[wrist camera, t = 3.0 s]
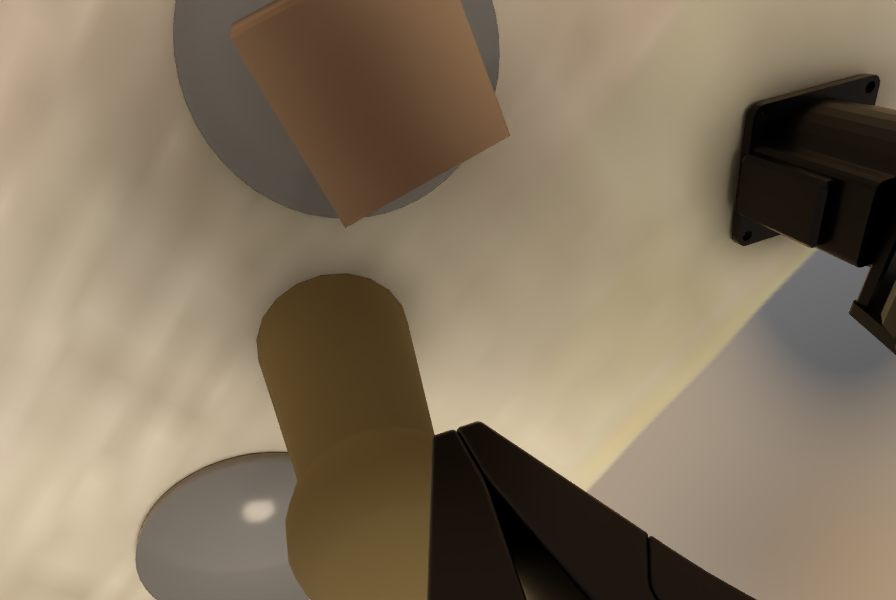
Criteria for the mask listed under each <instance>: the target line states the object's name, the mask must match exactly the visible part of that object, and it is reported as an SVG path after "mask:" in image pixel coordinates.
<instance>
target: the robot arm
mask: <svg viewBox="0 0 896 600" xmlns="http://www.w3.org/2000/svg"><path fill="white" fill-rule="evenodd" d="M879 85H880V79H879V77H878V76H877V75H872V74H862V75H858V76H855V77H851V78H847V79H843V80H840V81H836V82H832V83H828V84H825V85H821V86H817V87H813V88H810V89H806V90H802V91H798V92H795V93H791V94H787V95H783V96H780V97H776V98H772V99H769V100H765V101H761V102H758V103H756V104H754V105H753V106H752V107H751V108H750V109H749V111H748V112H747V116H746V123H745V131H744V139H743V148H742V156H741V165H740V173H739V181H738V190H737V198H736V207H735V215H734V223H733V232H732V239H733V241H734V242H736V243H738V244H740V245H742V246H746V245H749V244H752V243H755V242H758V241H762V240H765V239H768V238H771V237H774V236H777V235H780V234H782V235H784V236H786V237H788V238H790V239H792V240H794V241H797V242H799V243H801V244H803V245H805V246H807V247H810V248H814V247H815V248H817V249H820V250H822V251H824V252H826V253H828V254H830V255H833V256H835V257H837V258H839V259H841V260H843V261H846V262H848V263H850V264H852V265H854V266H856V267H864V266H868V267H870V269H869V272H868V274H867V277H866V279H865V281H864V284H863V286H862V289H861V291H860V294H859V296H858V298H857V300H854V301H853V304H852V306H851V308H850V311H849V314H850V315H851V316H852V317H853V318H854V319H856V320H857V321H858V322H859V323H860V324H861V325H862V326H864V327H865V328H866V329H867V330H868V331H869V332H870V333H872V334H873V335H874V336H875V337H876V338H877V339H878V340H880V341H881V342H882V343H883V344H884V345H885V346H886V347H887V348H889V349H890V350H891V351H892V352H893V353H894V354H895V355H896V110H894V109H889V108H884V107H879V106H875V102H876V98H877V93H878V89H879ZM760 113H761V116H760V117H759V114H760ZM758 117H759V119H758ZM427 600H756V599H754V598H752V597H751V596H749V595H747V594H745V593H743V592H742V591H740V590H738V589H736V588H735V587H733V586H731V585H729V584H727V583H726V582H724V581H722V580H721V579H719V578H717V577H715V576H714V575H712V574H710V573H708V572H706V571H705V570H703V569H702V568H700V567H699V566H697V565H696V564H694V563H692V562H691V561H689V560H688V559H686V558H685V557H683V556H681V555H680V554H678V553H677V552H675V551H673V550H672V549H671V548H669V547H668V546H666V545H665V544H663V543H662V542H660V541H659V540H657V539H656V538H654V537H652V536H650V537H648V534H647V533H646V532H645V531H643V530H642V529H640V528H639V527H637V526H636V525H634V524H633V523H631V522H630V521H628V520H627V519H626V518H624V517H622V516H621V515H620V514H618V513H617V512H615V511H614V510H612V509H611V508H609V507H608V506H606V505H604V504H603V503H602V502H600V501H599V500H597V499H596V498H594V497H593V496H591V495H590V494H588V493H587V492H585V491H584V490H582V489H581V488H579V487H578V486H576V485H575V484H573V483H572V482H570V481H569V480H567V479H566V478H564V477H563V476H561V475H560V474H558V473H557V472H555V471H554V470H552V469H551V468H549V467H548V466H546V465H545V464H543V463H542V462H540V461H539V460H537V459H536V458H534V457H533V456H531V455H530V454H528V453H527V452H525V451H524V450H522V449H521V448H520V447H518V446H517V445H515V444H514V443H512V442H511V441H509V440H508V439H506V438H505V437H503V436H502V435H500V434H499V433H497V432H496V431H494V430H493V429H491V428H490V427H488V426H487V425H485V424H484V423H482V422H478V421H477V422H474V423H471V424H468V425H464V426H461V427H459V428H458V429H457V431H455V430H449V431H446V432H443V433H440V434H437V435H435V436H433V438H432V453H431V485H430V516H429V547H428V579H427Z"/></svg>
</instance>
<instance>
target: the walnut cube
mask: <svg viewBox="0 0 896 600" xmlns="http://www.w3.org/2000/svg"><path fill="white" fill-rule="evenodd" d="M230 39H231V41H232V43H233V44H234V46H235V48H236V49H237V51H238V53H239V54H240V56H241V57H242V59H243V61H244V62H245V64H246V66H247V67H248V69H249V71H250V72H251V74H252V75H253V77H254V79H255V80H256V82H257V84H258V85H259V87H260V89H261V90H262V92H263V94H264V95H265V97H266V98H267V100H268V102H269V103H270V105H271V107H272V108H273V110H274V112H275V113H276V115H277V117H278V118H279V120H280V121H281V123H282V125H283V126H284V128H285V130H286V131H287V133H288V135H289V136H290V138H291V140H292V141H293V143H294V144H295V146H296V148H297V149H298V151H299V153H300V154H301V156H302V158H303V159H304V161H305V162H306V164H307V166H308V167H309V169H310V171H311V172H312V174H313V176H314V177H315V179H316V181H317V182H318V184H319V185H320V187H321V189H322V190H323V192H324V194H325V195H326V197H327V199H328V200H329V202H330V204H331V205H332V207H333V208H334V210H335V212H336V213H337V215H338V217H339V218H340V220H341V222H342V223H343V225H344V227H345V228H346V227H348V226H349V225H351V224H353V223H355V222H356V221H358V220H360V219H362V218H364V217H365V216H367V215H369V214H371V213H373V212H374V211H376V210H378V209H380V208H381V207H383V206H385V205H387V204H389V203H390V202H392V201H394V200H396V199H398V198H399V197H401V196H403V195H405V194H406V193H408V192H410V191H412V190H414V189H415V188H417V187H419V186H421V185H423V184H424V183H426V182H428V181H430V180H431V179H433V178H435V177H437V176H439V175H440V174H442V173H444V172H446V171H448V170H449V169H451V168H453V167H455V166H456V165H458V164H460V163H462V162H464V161H465V160H467V159H469V158H471V157H473V156H474V155H476V154H478V153H480V152H481V151H483V150H485V149H487V148H489V147H490V146H492V145H494V144H496V143H498V142H499V141H501V140H503V139H505V138H506V137H508V136H510V134H509V131H508V128H507V126H506V123H505V120H504V117H503V115H502V112H501V109H500V107H499V104H498V101H497V98H496V96H495V93H494V90H493V88H492V85H491V82H490V80H489V77H488V74H487V71H486V69H485V66H484V63H483V61H482V58H481V55H480V52H479V50H478V47H477V44H476V42H475V39H474V36H473V34H472V31H471V28H470V25H469V23H468V20H467V17H466V15H465V12H464V9H463V6H462V4H461V1H460V0H275V1H273V2H271V3H269V4H267V5H266V6H264V7H262V8H260V9H258V10H256V11H254V12H253V13H251V14H249V15H247V16H245V17H243V18H241V19H239V20H238V21H236V22H234V23H232V24H231V36H230Z"/></svg>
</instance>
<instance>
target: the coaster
mask: <svg viewBox="0 0 896 600" xmlns="http://www.w3.org/2000/svg"><path fill="white" fill-rule="evenodd" d="M273 1H275V0H176V3H175V12H174V24H173V40H174V56H175V62H176V67H177V73H178V78H179V82H180V85H181V88H182V91H183V94H184V98H185V101H186V103H187V106H188V108H189V110H190V112H191V114H192V117H193V119H194V121H195V123H196V125H197V127H198V128H199V130H200V131H201V133H202V135H203V136H204V138H205V140H206V141H207V143H208V144H209V146H210V147H211V148H212V149H213V151H214V152H215V153H216V154H217V156H218V157H219V158H220V159H221V161H222V162H223V163H224V164H225V165H226V166H227V167H228V168H229V169H230V170H231V171H232V172H233V173H234V174H235V175H236V176H237V177H239V178H240V179H241V180H242V181H244V182H245V183H246V184H248V185H249V186H250V187H252V188H253V189H254V190H256V191H257V192H259V193H261V194H262V195H264V196H266V197H267V198H269V199H271V200H272V201H275V202H277V203H279V204H281V205H284V206H286V207H288V208H291V209H293V210H297V211H300V212H303V213H307V214H310V215H316V216H322V217H328V218H339V217H338V215H337V213H336V212H335V210H334V208H333V207H332V205H331V204H330V202H329V200H328V199H327V197H326V195H325V194H324V192H323V190H322V189H321V187H320V185H319V184H318V182H317V181H316V179H315V177H314V176H313V174H312V172H311V171H310V169H309V167H308V166H307V164H306V162H305V161H304V159H303V158H302V156H301V154H300V153H299V151H298V149H297V148H296V146H295V144H294V143H293V141H292V140H291V138H290V136H289V135H288V133H287V131H286V130H285V128H284V126H283V125H282V123H281V121H280V120H279V118H278V117H277V115H276V113H275V112H274V110H273V108H272V107H271V105H270V103H269V102H268V100H267V98H266V97H265V95H264V94H263V92H262V90H261V89H260V87H259V85H258V84H257V82H256V80H255V79H254V77H253V75H252V74H251V72H250V71H249V69H248V67H247V66H246V64H245V62H244V61H243V59H242V57H241V56H240V54H239V53H238V51H237V49H236V48H235V46H234V44H233V43H232V41H231V39H230V36H231V24H232V23H234V22H236V21H238V20H239V19H241V18H243V17H245V16H247V15H249V14H251V13H253V12H254V11H256V10H258V9H260V8H262V7H264V6H266V5H267V4H269V3H271V2H273ZM460 1H461V4H462V6H463V9H464V12H465V15H466V17H467V20H468V23H469V25H470V28H471V31H472V34H473V36H474V39H475V42H476V44H477V47H478V50H479V52H480V55H481V58H482V61H483V63H484V66H485V69H486V71H487V74H488V77H489V80H490V82H491V85H492V88H493V90H494V93H495V89H496V84H497V79H498V68H499V34H498V27H497V21H496V15H495V10H494V6H493V3H492V0H460ZM460 164H461V163H460ZM460 164H458V165H456V166H455V167H453V168H451V169H449V170H448V171H446V172H444V173H442V174H440V175H439V176H437V177H435V178H433V179H431V180H430V181H428V182H426V183H424V184H423V185H421V186H419V187H417V188H415V189H414V190H412V191H410V192H408V193H406V194H405V195H403V196H401V197H399V198H398V199H396V200H394V201H392V202H390V203H389V204H387V205H385V206H383V207H381V208H380V209H378V210H376V211H374V212H373V213H371V214H369V215H367V216H365V217H369V216H374V215H379V214H384V213H387V212H390V211H393V210H396V209H399V208H402V207H404V206H406V205H408V204H410V203H412V202H414V201H416V200H418V199H420V198H421V197H423V196H424V195H426V194H427V193H429V192H431V191H432V190H434V189H435V188H436V187H437V186H438V185H440V184H441V183H442V182H443V181H444V180H446V179H447V178H448V177H449V176H450V175H451V174H452V173H453V172H454V170H455V169H456V168H457V167H458V166H459V165H460Z"/></svg>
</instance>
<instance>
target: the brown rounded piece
mask: <svg viewBox="0 0 896 600" xmlns="http://www.w3.org/2000/svg"><path fill="white" fill-rule="evenodd" d="M257 349H258V359H259V363H260V366H261V369H262V372H263V375H264V378H265V382H266V385H267V388H268V391H269V394H270V397H271V400H272V403H273V407H274V410H275V413H276V416H277V419H278V422H279V425H280V428H281V431H282V435H283V438H284V441H285V444H286V447H287V450H288V453H289V456H290V459H291V463H292V466H293V469H294V472H295V475H296V478H297V483H296V486H295V489H294V492H293V494H292V497H291V500H290V503H289V507H288V511H287V516H286V520H285V525H286V539H287V551H288V562H289V565H290V567H291V569H292V572H293V574H294V576H295V579H296V580H297V582H298V583H299V585H300V586H301V588H302V589H303V591H304V592H305V594H306V595H307V597H309V598H310V599H311V600H427V579H428V547H429V516H430V485H431V453H432V438H433V436H435V435H434V431H433V427H432V422H431V418H430V414H429V410H428V406H427V402H426V397H425V393H424V389H423V385H422V381H421V377H420V372H419V368H418V364H417V360H416V356H415V351H414V347H413V343H412V339H411V335H410V331H409V326H408V323H407V320H406V317H405V314H404V311H403V308H402V305H401V304H400V303H399V302H398V301H397V299H396V298H395V297H394V296H393V295H392V293H391V292H390V291H389V290H388V289H386V288H384V287H383V286H381V285H379V284H378V283H376V282H374V281H373V280H371V279H368V278H364V277H359V276H355V275H350V274H335V275H321V276H318V277H316V278H313V279H310V280H307V281H305V282H302V283H299V284H297V285H295V286H294V287H293V288H291V289H290V290H289V291H287V292H286V293H284V294H283V295H282V296H280V297H279V298H278V299H276V301H275V302H274V304H273V305H272V306H271V308H270V309H269V310H268V312H267V313H266V314H265V316H264V317H263V319H262V322H261V326H260V329H259V333H258V336H257Z"/></svg>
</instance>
